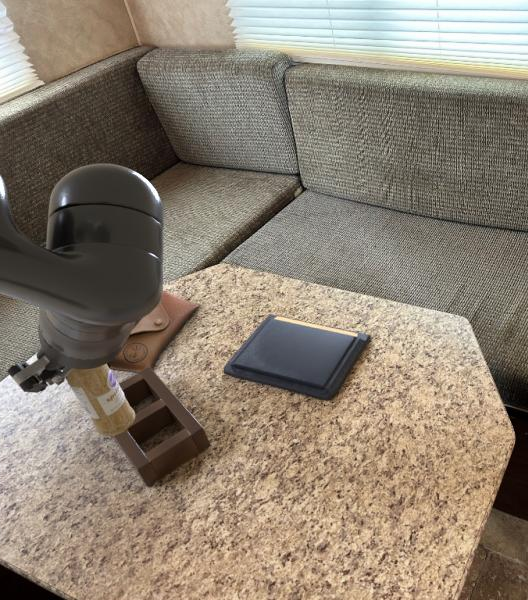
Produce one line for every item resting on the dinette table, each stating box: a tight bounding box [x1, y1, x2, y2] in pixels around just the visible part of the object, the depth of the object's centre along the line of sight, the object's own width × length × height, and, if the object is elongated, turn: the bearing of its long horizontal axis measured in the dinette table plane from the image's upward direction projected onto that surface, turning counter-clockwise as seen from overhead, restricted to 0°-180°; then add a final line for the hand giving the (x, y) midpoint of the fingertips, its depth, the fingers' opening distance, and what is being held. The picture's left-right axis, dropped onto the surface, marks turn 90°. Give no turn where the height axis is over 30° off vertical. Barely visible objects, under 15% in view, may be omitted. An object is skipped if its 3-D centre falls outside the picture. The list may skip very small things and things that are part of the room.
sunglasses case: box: [107, 290, 201, 373], centre depth 105 cm, size 18×7×7 cm
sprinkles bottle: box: [65, 364, 136, 437], centre depth 68 cm, size 5×5×13 cm
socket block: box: [111, 367, 212, 488], centre depth 88 cm, size 10×17×4 cm, turn 42°
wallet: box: [222, 313, 372, 402], centre depth 98 cm, size 20×2×15 cm
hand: (76, 362), depth 67 cm, fingers closed on sprinkles bottle, 4 cm apart
